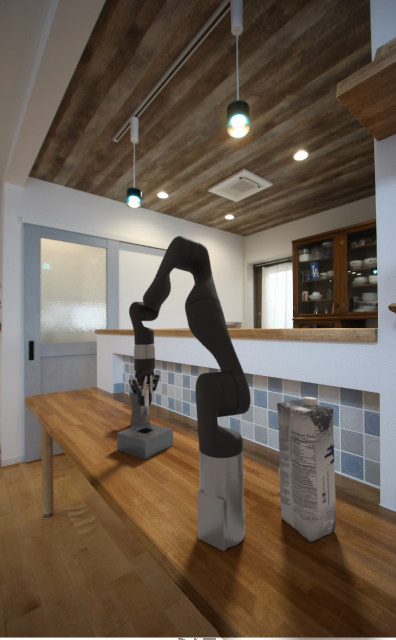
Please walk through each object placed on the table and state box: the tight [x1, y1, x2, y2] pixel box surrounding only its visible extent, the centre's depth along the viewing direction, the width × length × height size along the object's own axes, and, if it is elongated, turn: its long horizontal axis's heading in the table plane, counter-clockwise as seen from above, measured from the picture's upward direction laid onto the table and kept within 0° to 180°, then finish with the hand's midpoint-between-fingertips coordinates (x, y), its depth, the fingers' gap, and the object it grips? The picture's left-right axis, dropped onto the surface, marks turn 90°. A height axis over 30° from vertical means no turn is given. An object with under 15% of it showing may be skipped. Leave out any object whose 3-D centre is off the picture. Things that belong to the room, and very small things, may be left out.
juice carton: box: [276, 396, 337, 543], centre depth 63 cm, size 9×10×27 cm
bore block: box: [116, 422, 174, 460], centre depth 105 cm, size 14×14×6 cm
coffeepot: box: [128, 385, 151, 428], centre depth 129 cm, size 15×9×18 cm, turn 43°
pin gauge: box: [141, 385, 150, 414], centre depth 105 cm, size 3×3×10 cm
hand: (145, 404), depth 105 cm, fingers closed on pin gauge, 2 cm apart
